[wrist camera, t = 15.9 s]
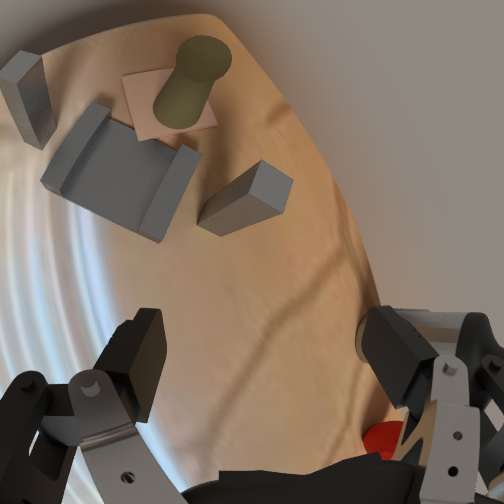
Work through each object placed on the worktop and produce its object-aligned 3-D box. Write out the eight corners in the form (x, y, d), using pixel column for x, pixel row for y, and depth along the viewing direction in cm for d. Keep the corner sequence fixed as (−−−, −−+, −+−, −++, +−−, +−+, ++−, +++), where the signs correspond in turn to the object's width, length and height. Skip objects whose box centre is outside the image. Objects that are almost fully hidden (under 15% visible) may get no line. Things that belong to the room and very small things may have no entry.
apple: (360, 462, 39) (405, 482, 28) (346, 444, 37) (398, 468, 26) (388, 426, 43) (433, 440, 33) (377, 404, 42) (430, 419, 31)
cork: (170, 137, 27) (202, 76, 18) (143, 101, 26) (165, 34, 16) (210, 117, 30) (253, 61, 20) (184, 84, 29) (218, 23, 19)
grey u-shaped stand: (209, 266, 29) (268, 257, 19) (8, 168, 19) (-33, 112, 8) (240, 187, 32) (303, 146, 21) (56, 98, 21) (48, 25, 11)
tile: (192, 68, 30) (194, 66, 30) (216, 126, 31) (218, 124, 30) (120, 79, 25) (121, 76, 25) (138, 143, 26) (138, 141, 26)
